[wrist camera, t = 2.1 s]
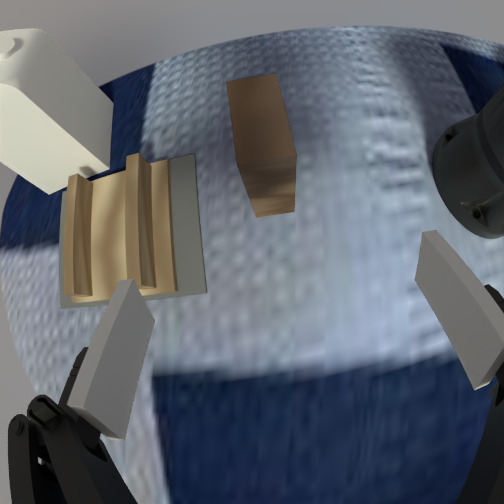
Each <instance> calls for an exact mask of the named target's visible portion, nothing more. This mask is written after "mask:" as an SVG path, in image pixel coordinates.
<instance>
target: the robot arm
mask: <svg viewBox="0 0 504 504" xmlns="http://www.w3.org/2000/svg"><path fill="white" fill-rule="evenodd" d="M433 172H434V177H435V181H436V184H437V187H438V190H439V192H440V194H441V196H442V198H443V200H444V202H445V204H446V206H447V207H448V209H449V210H450V212H451V213H452V214H453V216H454V217H455V218H456V219H457V220H458V221H459V222H460V223H461V224H462V225H463V226H464V227H465V228H466V229H468V230H469V231H471V232H472V233H474V234H476V235H478V236H480V237H483V238H488V239H495V238H499V237H502V236H504V82H503V83H502V85H501V86H500V87H499V89H498V90H497V91H496V92H495V94H494V95H493V96H492V97H491V99H490V100H489V101H488V102H487V104H486V105H485V106H484V108H483V109H482V110H481V111H480V112H479V113H478V114H476V115H474V116H471V117H469V118H467V119H465V120H463V121H460V122H458V123H456V124H454V125H452V126H451V127H449V128H448V129H447V130H446V131H445V132H444V134H443V135H442V136H441V138H440V139H439V140H438V142H437V144H436V146H435V149H434V153H433ZM415 281H416V283H417V285H418V286H419V288H420V289H421V291H422V293H423V294H424V296H425V298H426V299H427V301H428V303H429V304H430V306H431V308H432V309H433V311H434V313H435V315H436V316H437V318H438V320H439V322H440V323H441V325H442V327H443V329H444V331H445V332H446V334H447V336H448V338H449V340H450V342H451V344H452V345H453V347H454V349H455V351H456V353H457V355H458V357H459V359H460V361H461V363H462V365H463V367H464V369H465V371H466V373H467V376H468V378H469V380H470V382H471V384H472V386H473V389H474V390H476V389H478V388H481V387H483V386H485V385H487V384H489V383H490V381H491V380H492V378H493V377H494V376H495V375H496V377H497V379H498V381H497V382H496V383H495V385H494V386H493V387H492V389H491V390H490V391H489V393H488V395H487V396H488V397H490V395H491V394H492V393H493V392H494V393H493V397H492V402H491V406H490V410H489V414H488V418H487V422H486V425H485V428H484V432H483V435H482V438H481V441H480V444H479V447H478V450H477V453H476V456H475V459H474V461H473V464H472V467H471V469H470V472H469V474H468V477H467V479H466V481H465V484H464V486H463V488H462V490H461V493H460V495H459V497H458V499H457V501H456V503H455V504H504V298H503V297H502V296H501V295H500V293H499V292H498V291H497V290H496V289H494V288H493V287H492V286H490V285H489V284H488V285H485V286H483V285H482V283H481V282H480V281H479V280H478V278H477V277H476V276H475V274H474V273H473V272H472V271H471V270H470V268H469V267H468V266H467V265H466V263H465V262H464V261H463V260H462V259H461V258H460V256H459V255H458V254H457V253H456V252H455V251H454V249H453V248H452V247H451V246H450V245H449V244H448V243H447V242H446V240H445V239H444V238H443V237H442V236H441V235H440V234H439V233H438V232H437V231H436V230H433V231H427V232H422V239H421V246H420V253H419V259H418V265H417V271H416V276H415ZM154 323H155V319H154V318H153V316H152V314H151V312H150V310H149V308H148V306H147V305H146V303H145V301H144V299H143V297H142V295H141V293H140V291H139V289H138V287H137V285H136V283H135V281H134V279H126V280H120V281H119V282H118V284H117V286H116V288H115V291H114V293H113V295H112V297H111V299H110V301H109V303H108V305H107V307H106V309H105V312H104V314H103V316H102V318H101V320H100V323H99V325H98V327H97V329H96V332H95V334H94V336H93V338H92V341H91V343H90V345H89V347H84V348H83V350H82V351H81V352H80V353H79V355H78V356H77V357H76V360H75V362H74V365H73V369H72V370H71V372H70V377H68V380H67V382H66V385H65V387H64V390H63V393H62V395H61V398H60V401H59V404H58V405H57V404H56V403H55V402H54V401H53V400H52V399H50V398H49V397H48V396H46V395H39V396H37V397H35V398H34V399H33V400H32V401H31V403H30V404H29V406H28V409H27V417H28V418H27V417H26V416H25V415H23V414H18V415H16V416H15V417H13V419H12V420H11V422H10V424H9V428H8V464H9V479H10V490H11V499H12V504H138V503H137V502H136V500H135V498H134V497H133V495H132V494H131V492H130V490H129V489H128V487H127V485H126V484H125V482H124V480H123V479H122V477H121V475H120V473H119V472H118V470H117V468H116V466H115V464H114V463H113V461H112V459H111V457H110V455H109V453H108V451H107V449H106V447H105V445H104V443H103V442H102V440H101V439H100V434H101V433H102V434H103V435H105V436H106V437H107V438H109V439H114V440H122V441H125V437H126V433H127V428H128V423H129V419H130V414H131V410H132V406H133V401H134V397H135V393H136V389H137V385H138V381H139V377H140V373H141V369H142V366H143V362H144V358H145V354H146V351H147V347H148V344H149V340H150V337H151V333H152V330H153V326H154ZM38 457H39V458H41V459H42V463H41V464H39V463H38Z"/></svg>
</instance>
